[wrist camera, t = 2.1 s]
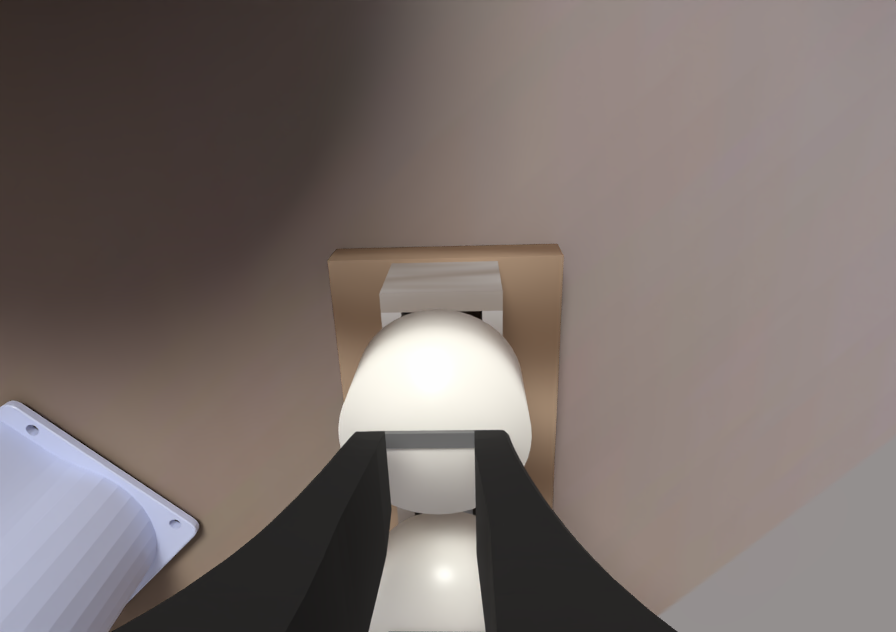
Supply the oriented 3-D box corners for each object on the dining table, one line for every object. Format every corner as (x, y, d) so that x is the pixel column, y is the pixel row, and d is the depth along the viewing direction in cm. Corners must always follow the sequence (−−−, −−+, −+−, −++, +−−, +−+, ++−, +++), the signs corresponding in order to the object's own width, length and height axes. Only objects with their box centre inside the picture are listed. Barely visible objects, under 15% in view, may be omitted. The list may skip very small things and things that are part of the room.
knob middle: (393, 549, 22) (369, 695, 16) (384, 450, 20) (355, 579, 15) (511, 549, 21) (525, 697, 16) (513, 449, 20) (528, 579, 15)
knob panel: (336, 248, 21) (304, 290, 17) (557, 243, 21) (579, 285, 17) (373, 588, 27) (357, 679, 23) (543, 588, 27) (556, 681, 23)
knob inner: (379, 400, 19) (347, 518, 14) (368, 273, 17) (326, 354, 12) (513, 398, 19) (530, 517, 14) (514, 270, 17) (534, 351, 12)
